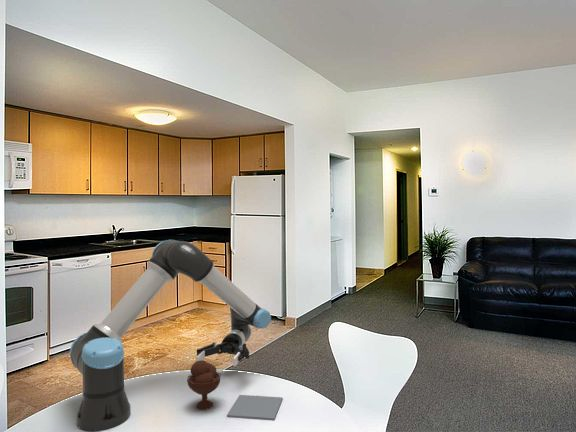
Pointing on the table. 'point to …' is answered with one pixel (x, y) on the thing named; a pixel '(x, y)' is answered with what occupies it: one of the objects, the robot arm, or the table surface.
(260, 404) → the slate mat
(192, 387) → the ice cream bowl
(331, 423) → the table surface
